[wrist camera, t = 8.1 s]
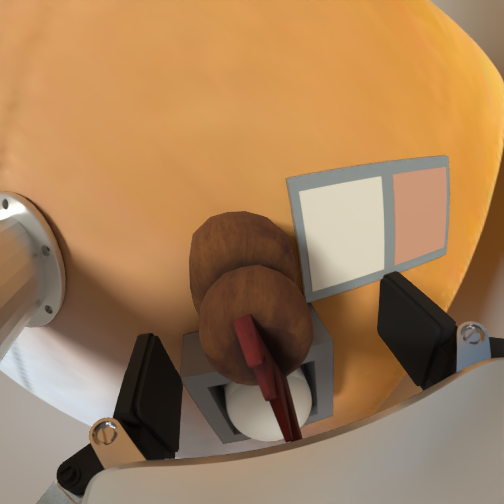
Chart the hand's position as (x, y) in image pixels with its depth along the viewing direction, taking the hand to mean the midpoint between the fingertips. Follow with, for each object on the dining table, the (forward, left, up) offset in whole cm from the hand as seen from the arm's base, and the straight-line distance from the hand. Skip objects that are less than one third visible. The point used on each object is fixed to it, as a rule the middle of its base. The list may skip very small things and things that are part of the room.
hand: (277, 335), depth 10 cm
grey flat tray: (+12, -1, -10) cm, 15 cm away
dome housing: (-1, -12, -10) cm, 16 cm away
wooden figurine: (-1, 0, -10) cm, 10 cm away
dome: (-1, -12, -9) cm, 15 cm away
